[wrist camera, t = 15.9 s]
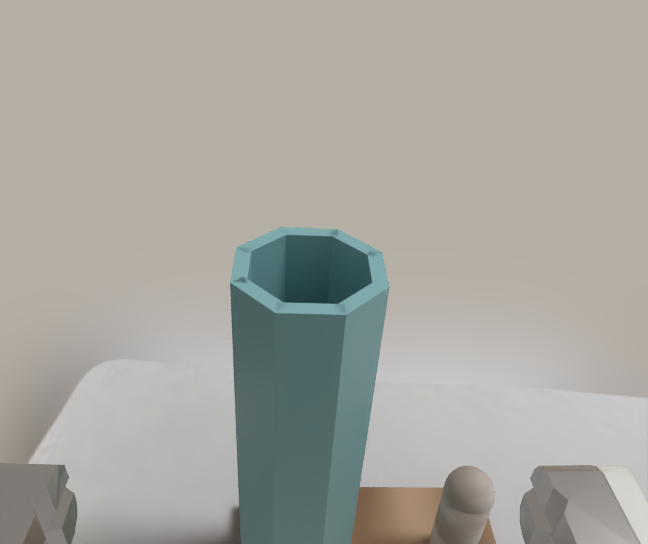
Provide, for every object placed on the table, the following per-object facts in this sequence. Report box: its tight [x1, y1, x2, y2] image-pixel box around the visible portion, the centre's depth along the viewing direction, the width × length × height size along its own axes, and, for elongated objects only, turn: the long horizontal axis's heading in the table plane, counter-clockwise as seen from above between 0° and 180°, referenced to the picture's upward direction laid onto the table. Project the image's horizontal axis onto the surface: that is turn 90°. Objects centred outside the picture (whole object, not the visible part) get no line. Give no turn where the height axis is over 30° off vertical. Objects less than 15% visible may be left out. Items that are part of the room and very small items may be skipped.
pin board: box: [351, 466, 496, 544], centre depth 32 cm, size 15×9×9 cm, turn 92°
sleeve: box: [230, 227, 389, 544], centre depth 28 cm, size 6×6×20 cm
